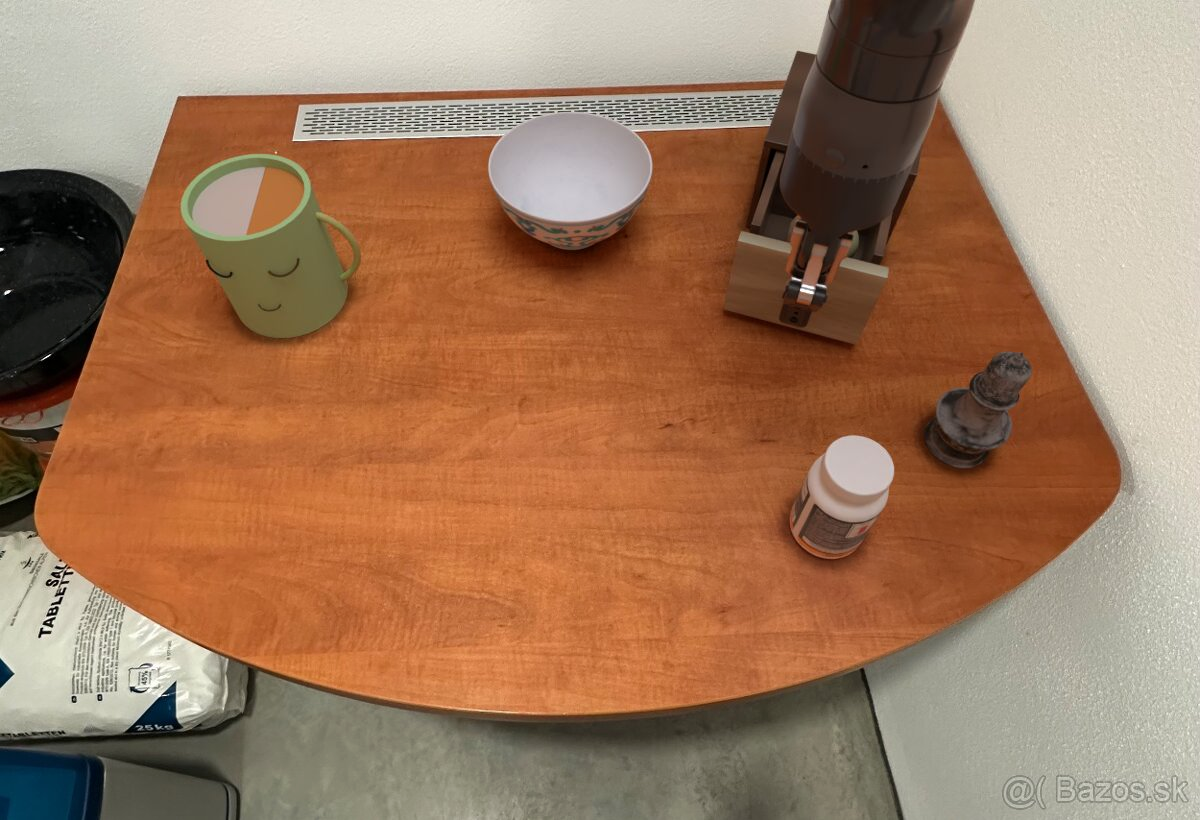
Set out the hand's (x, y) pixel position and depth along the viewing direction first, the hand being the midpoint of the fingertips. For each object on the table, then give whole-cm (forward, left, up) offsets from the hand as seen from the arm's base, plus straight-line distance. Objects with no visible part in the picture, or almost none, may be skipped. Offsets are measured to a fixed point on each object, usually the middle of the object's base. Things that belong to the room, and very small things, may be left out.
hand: (793, 318), depth 62 cm
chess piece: (-16, +1, -9) cm, 18 cm away
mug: (+43, +5, -9) cm, 44 cm away
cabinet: (0, -25, -9) cm, 26 cm away
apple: (0, -13, -7) cm, 14 cm away
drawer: (0, -12, -8) cm, 14 cm away
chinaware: (+23, -12, -9) cm, 27 cm away
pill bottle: (-7, +12, -9) cm, 17 cm away
